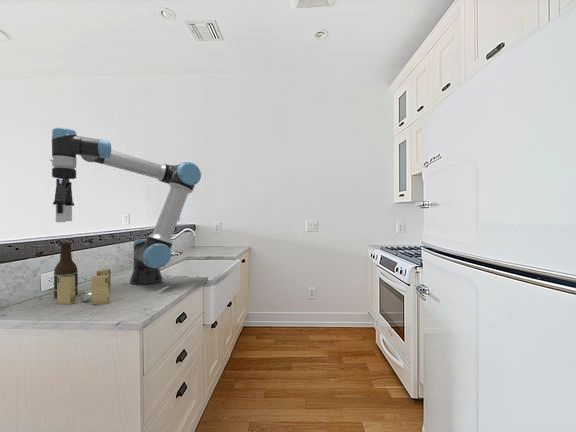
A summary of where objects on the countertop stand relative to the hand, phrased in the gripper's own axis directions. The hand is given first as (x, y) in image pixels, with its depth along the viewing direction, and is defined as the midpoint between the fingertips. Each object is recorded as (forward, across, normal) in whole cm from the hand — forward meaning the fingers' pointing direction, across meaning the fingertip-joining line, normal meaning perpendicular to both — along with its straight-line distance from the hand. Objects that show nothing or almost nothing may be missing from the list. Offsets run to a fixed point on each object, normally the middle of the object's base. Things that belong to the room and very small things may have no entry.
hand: (64, 221), depth 111 cm
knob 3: (+31, +11, +13) cm, 36 cm away
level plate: (+33, +4, +9) cm, 34 cm away
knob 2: (+31, -3, +13) cm, 34 cm away
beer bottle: (+33, -7, -1) cm, 34 cm away
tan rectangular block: (+31, +4, +1) cm, 32 cm away
